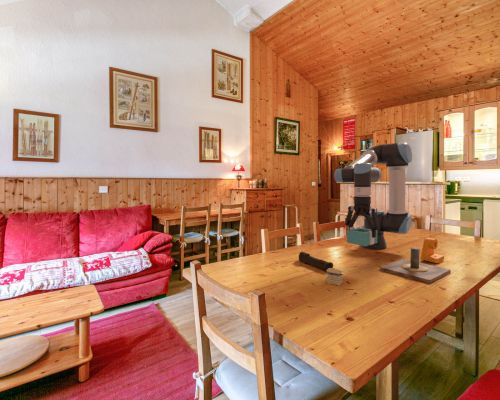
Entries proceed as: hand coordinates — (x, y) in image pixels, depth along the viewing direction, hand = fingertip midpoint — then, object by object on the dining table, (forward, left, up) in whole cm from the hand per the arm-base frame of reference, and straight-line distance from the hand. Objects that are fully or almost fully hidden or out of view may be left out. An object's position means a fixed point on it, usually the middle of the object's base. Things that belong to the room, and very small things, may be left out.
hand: (361, 242), depth 134 cm
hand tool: (-19, -13, -14) cm, 27 cm away
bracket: (+14, +44, -14) cm, 48 cm away
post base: (+16, +19, -14) cm, 28 cm away
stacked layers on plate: (+2, -23, -15) cm, 27 cm away
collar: (0, 0, 0) cm, 0 cm away
